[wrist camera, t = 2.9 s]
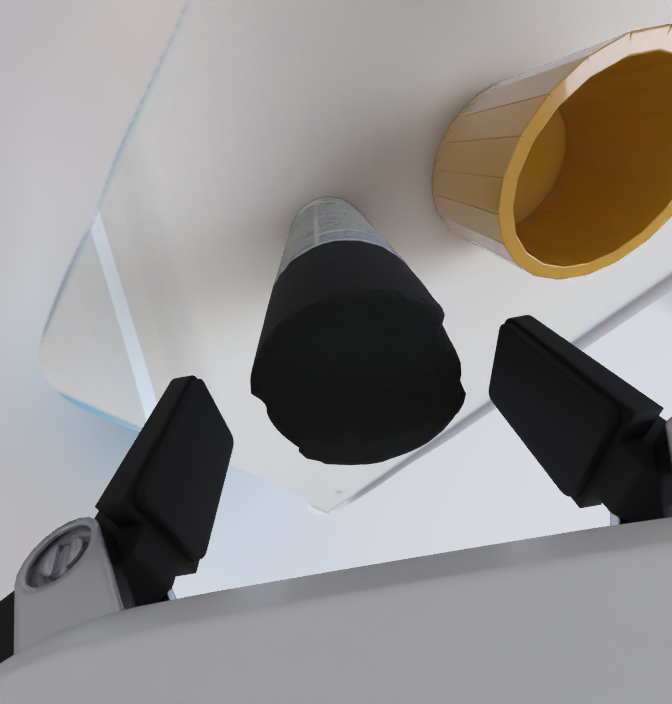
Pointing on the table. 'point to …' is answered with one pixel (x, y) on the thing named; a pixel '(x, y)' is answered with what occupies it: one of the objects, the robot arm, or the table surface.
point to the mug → (565, 158)
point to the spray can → (353, 345)
